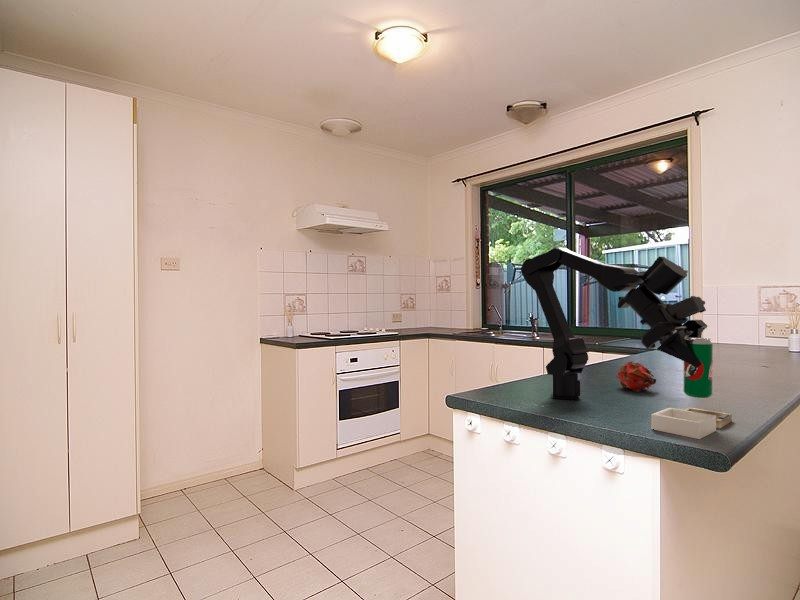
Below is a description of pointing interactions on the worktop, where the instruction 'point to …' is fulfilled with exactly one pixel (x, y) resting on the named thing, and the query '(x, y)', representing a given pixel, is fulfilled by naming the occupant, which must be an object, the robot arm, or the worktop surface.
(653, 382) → the dragon fruit
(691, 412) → the bin
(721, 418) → the checker cradle
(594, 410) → the worktop surface
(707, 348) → the soda can
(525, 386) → the worktop surface
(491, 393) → the worktop surface
